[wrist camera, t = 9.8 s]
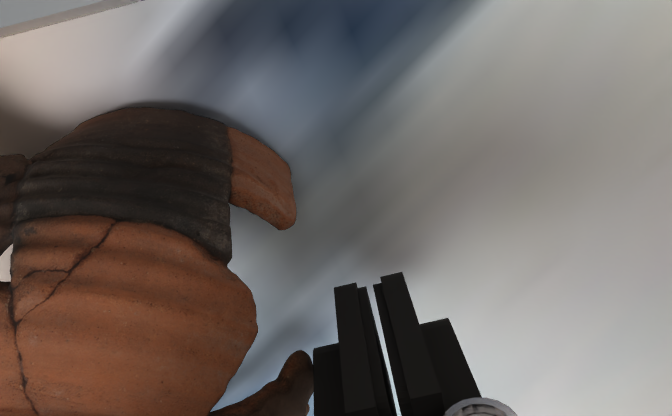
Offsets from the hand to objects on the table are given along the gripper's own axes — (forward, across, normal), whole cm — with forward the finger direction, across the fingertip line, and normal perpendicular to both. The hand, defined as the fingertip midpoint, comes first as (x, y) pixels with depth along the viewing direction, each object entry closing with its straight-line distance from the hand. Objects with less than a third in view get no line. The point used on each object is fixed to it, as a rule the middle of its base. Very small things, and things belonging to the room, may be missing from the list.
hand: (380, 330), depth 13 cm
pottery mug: (+3, +6, -2) cm, 8 cm away
